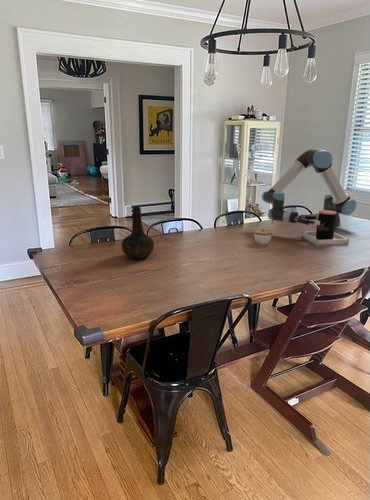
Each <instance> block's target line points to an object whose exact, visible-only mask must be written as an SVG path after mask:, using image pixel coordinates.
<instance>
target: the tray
mask: <svg viewBox="0 0 370 500" xmlns="http://www.w3.org/2000/svg"><path fill="white" fill-rule="evenodd" d="M316 231H317V230H316ZM316 231H314V230H313V231H302V232H301V238H303V239H304V240H307V241H308V242H310V243H311V244H312V245H314V246H316V247H319V246H321V247H323V246H345V245H346V246H347V245H349V242H350V239H349V238H348V237H345V236H343V235H341V234H339V233H337V232H335V231H334V236H333V239H328V240H318V239H317V238H316Z"/></svg>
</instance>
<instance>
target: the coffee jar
mask: <svg viewBox="0 0 370 500" xmlns="http://www.w3.org/2000/svg"><path fill="white" fill-rule="evenodd" d="M336 213H337V212H335V211H331V210H323V209H321V210H319V211H318V215H317V216H318V220H317V221H320V225H316V238H317V239H318V240H328V239H333V236H334V232H335V229H336V226H335V221H336Z"/></svg>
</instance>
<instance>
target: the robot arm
mask: <svg viewBox="0 0 370 500" xmlns="http://www.w3.org/2000/svg"><path fill="white" fill-rule="evenodd" d="M332 166H333V155H332V153H331V152H330V151H328V150H325V149H315V148H310V149H307V150H306V151H304V152H302V154H301V155H299V156H298V157H297V158H296V159H295V161H294V162H293V164H292V166H290V168H289V169H288V170H287V171H286V172H285V173H284V174H283V175H282V176H281V177H280V178H279V179H278V180H277V181H276V182H275V183H274V184H273V185H272V187H271V188H270V189H268V190H266V191H264V192H263V193H262V194H261V200H262V201H263V202H265V203H267V204H270V205H272V207H271V208H270V209H268V213H267V217H268V219H269V220H273V221H275V222H276V221H277V222H285V223H286V224H287V223H292V224H296V223H300V224H304V225H307V226H309V225H313V226H317V225H320V221H318V215H317V214H300V215H299V212H298V211H293V210H286V209H284V207H285V200H286V199H285V192H284V191H285V190H286V189H287V187H288V186H289V185H290V184H291V183H293V181H294V180H295V179H296V178H297V177H298V176H299V175H300V174H301V173H302V172H303V171H306V169H307V168H310V167H312V168H313V170H314V171H315V173H317V174H319V175H320V177H321V179H322V181H323V183H324V185H325V187H326V188H327V190H328V191H329V193H326V194H325V195H324V198H323V206H322V207H323V209H322V210H331V211H335V212H337V213H336V221H335V227H338V226H341V218H340V214H341V215H344V216H350V215H352V214H353V213H354V212H355V211H356V208H357V201H356V200H355V199H354V198H351V197H350V195H349V193H348V192H346V191H345V190H344V189H343V187H342V185H341V182H340V181H339V179H338V177H337V175H336V173H335V170H334V169H333V168H332Z"/></svg>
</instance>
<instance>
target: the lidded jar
mask: <svg viewBox="0 0 370 500" xmlns="http://www.w3.org/2000/svg"><path fill="white" fill-rule="evenodd" d="M272 236H273V231H272V230H269V229H265V228H262V229H255V230H254V240H255V241H256V243H257V244H258V245H263V246H264V245H265V246H267V245H268V244H269V242H271V240H272Z"/></svg>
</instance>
